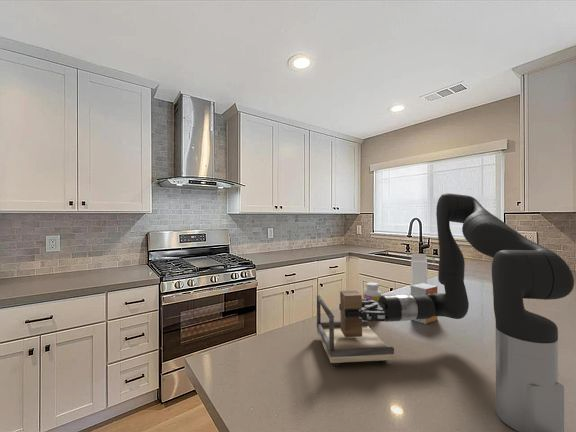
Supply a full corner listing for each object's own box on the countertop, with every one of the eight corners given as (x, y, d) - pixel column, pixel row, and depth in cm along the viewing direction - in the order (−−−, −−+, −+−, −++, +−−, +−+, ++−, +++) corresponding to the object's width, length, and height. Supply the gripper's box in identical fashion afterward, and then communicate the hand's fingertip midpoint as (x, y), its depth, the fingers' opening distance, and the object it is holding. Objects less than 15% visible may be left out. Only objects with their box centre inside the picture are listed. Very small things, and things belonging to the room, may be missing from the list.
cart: (394, 367, 74) (393, 313, 74) (330, 370, 73) (329, 316, 73) (366, 334, 94) (366, 292, 94) (316, 337, 93) (315, 294, 93)
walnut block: (362, 336, 81) (361, 295, 81) (345, 337, 81) (344, 295, 81) (356, 329, 86) (356, 290, 86) (340, 330, 86) (340, 291, 86)
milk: (411, 299, 133) (410, 252, 133) (425, 300, 131) (424, 253, 131) (413, 303, 127) (412, 254, 127) (427, 304, 125) (427, 254, 125)
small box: (426, 324, 102) (425, 289, 102) (410, 319, 108) (410, 285, 108) (438, 320, 107) (437, 285, 107) (422, 315, 112) (422, 282, 112)
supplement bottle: (361, 317, 110) (361, 284, 110) (365, 311, 116) (365, 280, 116) (379, 320, 107) (379, 286, 107) (382, 314, 113) (382, 282, 113)
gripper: (387, 289, 92) (335, 290, 90) (409, 302, 78) (349, 305, 76) (387, 311, 92) (336, 314, 91) (409, 330, 78) (349, 333, 76)
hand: (342, 310), depth 83 cm, fingers closed on walnut block, 5 cm apart
